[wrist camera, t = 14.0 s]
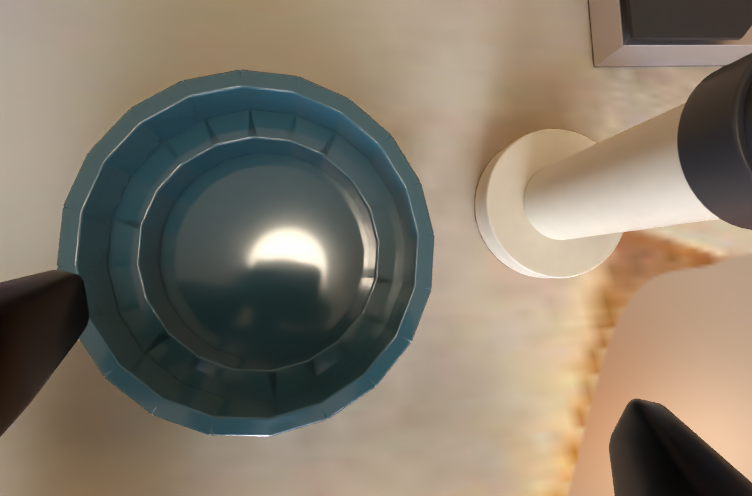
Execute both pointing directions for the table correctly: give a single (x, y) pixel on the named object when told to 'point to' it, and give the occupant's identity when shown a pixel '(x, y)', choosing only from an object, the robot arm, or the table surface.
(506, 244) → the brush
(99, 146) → the bowl
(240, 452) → the table surface
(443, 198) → the table surface
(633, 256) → the table surface
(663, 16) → the picture frame
